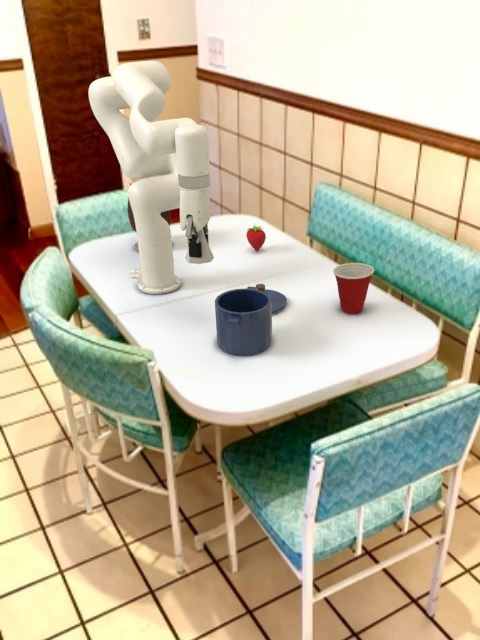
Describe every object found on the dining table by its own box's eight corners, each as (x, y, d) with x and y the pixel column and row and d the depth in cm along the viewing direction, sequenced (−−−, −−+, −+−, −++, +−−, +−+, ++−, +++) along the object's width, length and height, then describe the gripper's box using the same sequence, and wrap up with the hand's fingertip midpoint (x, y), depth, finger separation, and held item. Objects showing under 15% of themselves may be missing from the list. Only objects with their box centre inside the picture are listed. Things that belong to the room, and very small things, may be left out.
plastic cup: (348, 296, 180) (350, 257, 174) (379, 308, 173) (382, 268, 167) (322, 309, 174) (324, 268, 167) (354, 322, 167) (356, 280, 161)
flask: (185, 254, 163) (182, 216, 158) (213, 252, 163) (211, 215, 158) (184, 265, 157) (181, 226, 151) (214, 264, 157) (212, 225, 152)
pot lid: (228, 313, 172) (227, 294, 169) (241, 290, 184) (241, 272, 181) (281, 318, 169) (281, 299, 166) (291, 295, 181) (291, 276, 178)
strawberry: (254, 257, 206) (253, 227, 200) (243, 249, 211) (242, 220, 206) (269, 253, 208) (269, 224, 203) (258, 246, 214) (258, 217, 209)
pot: (207, 358, 153) (204, 316, 147) (228, 321, 168) (226, 281, 162) (262, 364, 150) (261, 321, 144) (279, 326, 166) (278, 286, 160)
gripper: (190, 169, 157) (195, 239, 167) (166, 190, 143) (173, 265, 153) (220, 171, 156) (223, 241, 165) (198, 192, 142) (203, 267, 151)
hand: (199, 252), depth 159 cm, fingers closed on flask, 4 cm apart
